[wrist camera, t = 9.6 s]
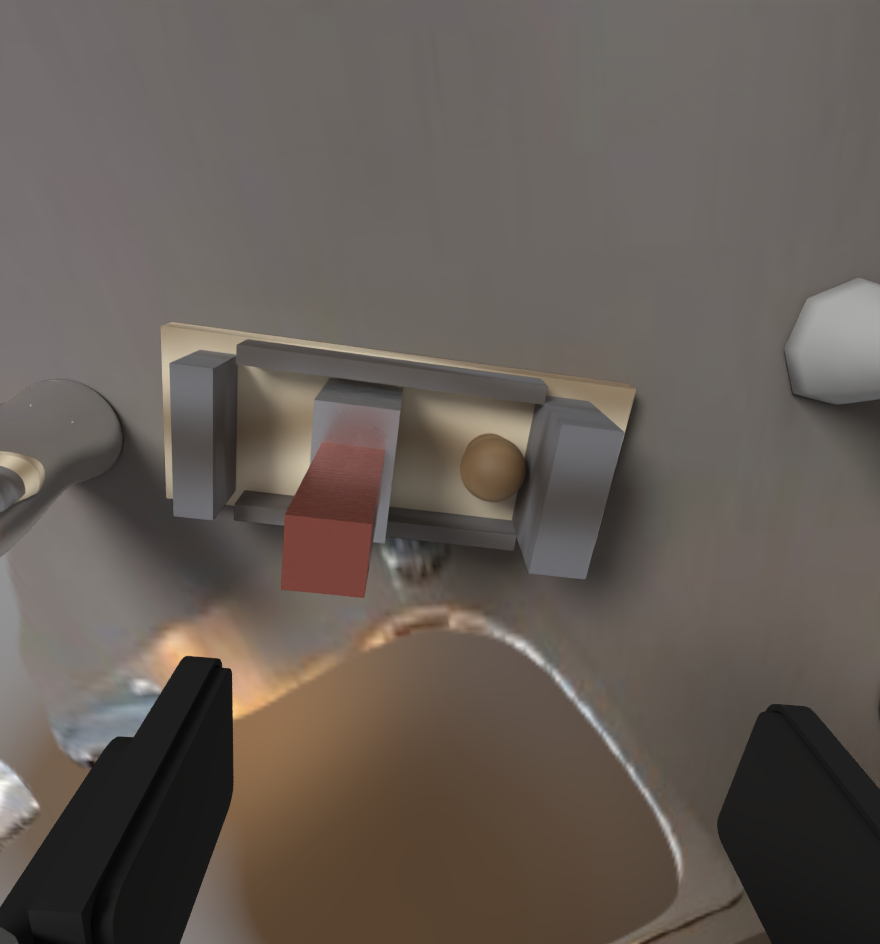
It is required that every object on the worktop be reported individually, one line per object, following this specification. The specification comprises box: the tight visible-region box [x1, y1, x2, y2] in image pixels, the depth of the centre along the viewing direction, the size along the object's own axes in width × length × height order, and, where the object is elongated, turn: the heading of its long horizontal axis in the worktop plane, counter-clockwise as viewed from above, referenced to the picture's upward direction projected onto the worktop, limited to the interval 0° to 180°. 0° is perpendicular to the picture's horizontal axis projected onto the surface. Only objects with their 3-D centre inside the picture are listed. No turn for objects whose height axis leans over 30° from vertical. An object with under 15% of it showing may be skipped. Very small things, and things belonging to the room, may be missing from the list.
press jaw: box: [281, 378, 403, 598], centre depth 26 cm, size 7×4×13 cm, turn 172°
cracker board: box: [161, 322, 636, 579], centre depth 31 cm, size 10×26×8 cm, turn 82°
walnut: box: [460, 433, 526, 502], centre depth 32 cm, size 4×4×4 cm
